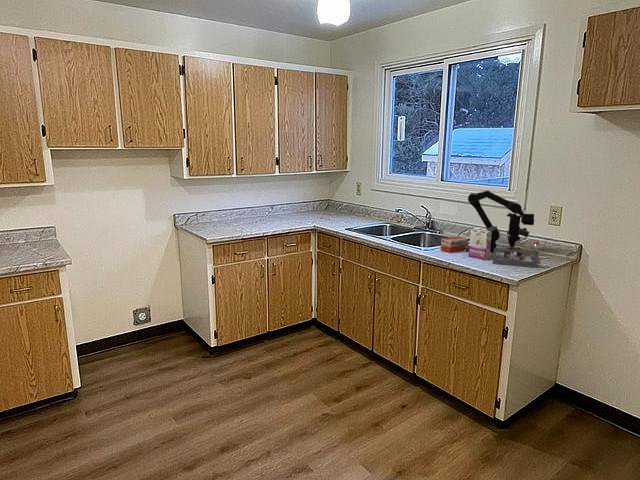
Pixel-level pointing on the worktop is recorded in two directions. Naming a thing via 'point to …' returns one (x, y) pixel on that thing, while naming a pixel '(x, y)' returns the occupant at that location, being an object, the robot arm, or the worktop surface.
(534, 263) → the press bed
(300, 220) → the worktop surface
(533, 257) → the handle
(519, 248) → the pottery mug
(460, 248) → the medicine box
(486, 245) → the candy bar box
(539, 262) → the ram track
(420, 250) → the worktop surface
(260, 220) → the worktop surface
